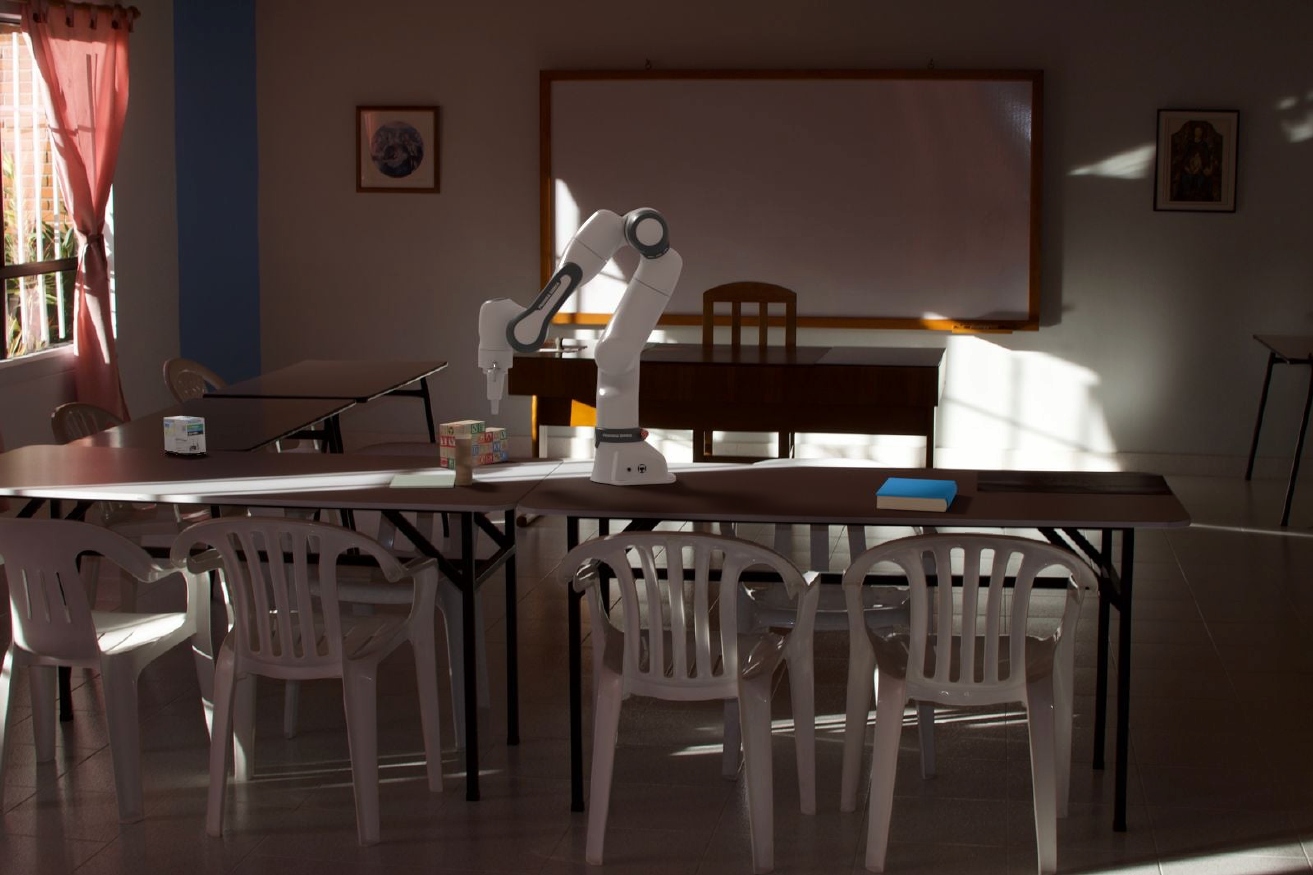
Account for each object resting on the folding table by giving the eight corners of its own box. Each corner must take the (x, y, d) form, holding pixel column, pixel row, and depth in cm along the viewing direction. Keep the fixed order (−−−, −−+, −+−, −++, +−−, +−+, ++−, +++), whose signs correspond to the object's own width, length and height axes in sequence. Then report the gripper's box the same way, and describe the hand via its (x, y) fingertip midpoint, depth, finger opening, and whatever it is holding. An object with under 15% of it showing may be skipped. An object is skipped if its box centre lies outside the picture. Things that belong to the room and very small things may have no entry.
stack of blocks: (491, 458, 424) (491, 416, 423) (508, 460, 421) (507, 418, 419) (439, 467, 407) (438, 423, 406) (456, 469, 404) (455, 425, 402)
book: (875, 493, 345) (888, 476, 369) (875, 511, 346) (887, 493, 369) (949, 497, 340) (957, 479, 364) (949, 515, 341) (956, 496, 365)
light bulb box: (206, 453, 432) (205, 417, 431) (188, 456, 427) (187, 419, 425) (182, 450, 438) (180, 415, 437) (163, 453, 432) (162, 417, 431)
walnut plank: (472, 479, 387) (472, 434, 385) (471, 485, 377) (470, 438, 375) (457, 479, 386) (456, 434, 385) (455, 485, 377) (455, 439, 375)
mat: (456, 476, 390) (456, 474, 390) (453, 487, 373) (453, 485, 373) (395, 477, 389) (395, 475, 389) (389, 488, 371) (389, 486, 371)
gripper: (507, 364, 368) (506, 418, 370) (508, 357, 389) (507, 409, 390) (482, 363, 368) (481, 418, 370) (484, 357, 388) (483, 409, 390)
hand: (494, 413), depth 380 cm, fingers closed
